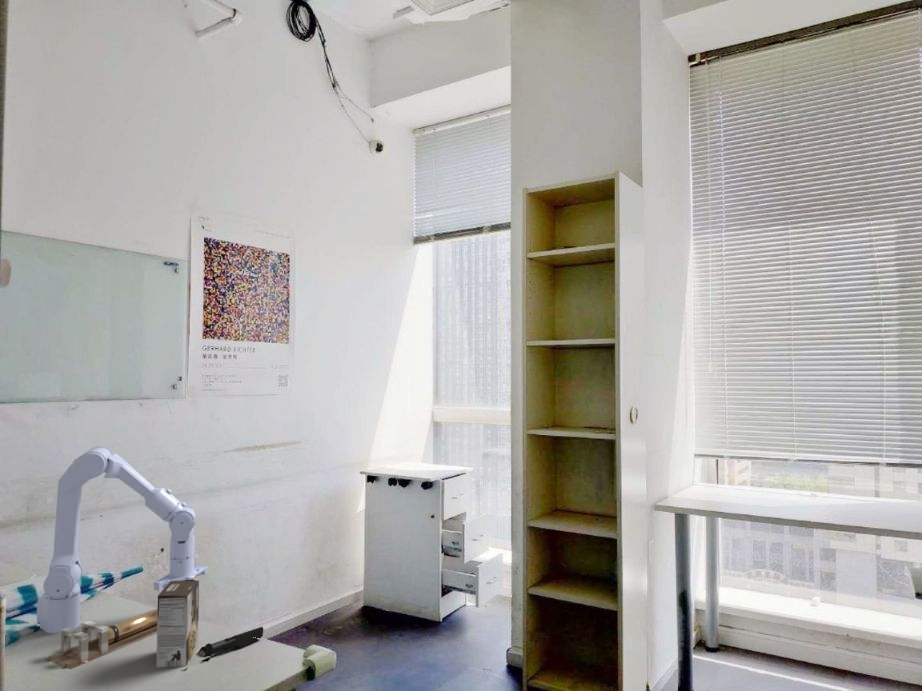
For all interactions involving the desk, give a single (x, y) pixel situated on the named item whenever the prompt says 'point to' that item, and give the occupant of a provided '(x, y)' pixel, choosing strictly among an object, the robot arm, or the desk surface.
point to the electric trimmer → (230, 643)
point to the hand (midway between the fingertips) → (181, 610)
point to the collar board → (91, 644)
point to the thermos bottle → (131, 626)
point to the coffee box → (177, 623)
